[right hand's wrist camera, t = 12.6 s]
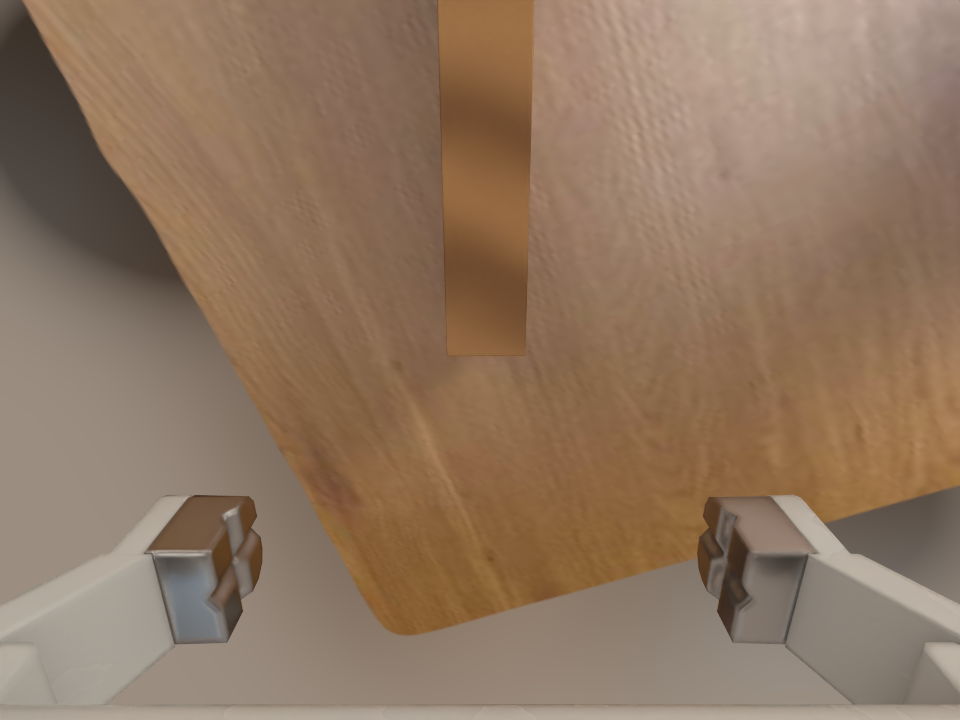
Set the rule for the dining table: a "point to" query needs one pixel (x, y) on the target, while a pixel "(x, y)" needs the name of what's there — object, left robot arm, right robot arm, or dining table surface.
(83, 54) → the dining table surface
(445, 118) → the beam
